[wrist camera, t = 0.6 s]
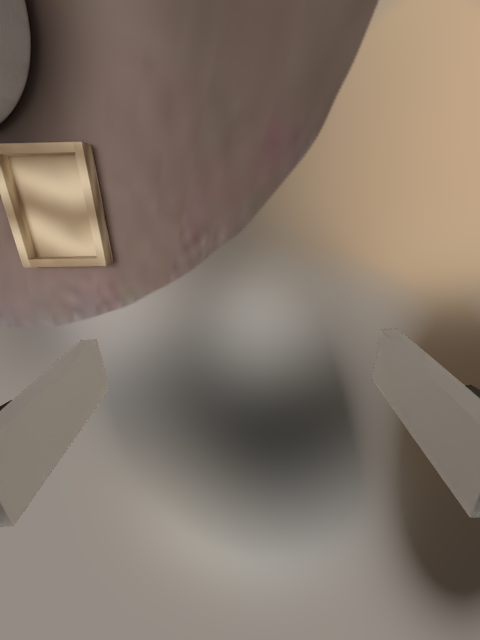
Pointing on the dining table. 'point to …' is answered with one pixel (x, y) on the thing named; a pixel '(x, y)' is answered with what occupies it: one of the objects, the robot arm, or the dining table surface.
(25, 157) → the tray
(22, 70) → the planter
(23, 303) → the dining table surface
